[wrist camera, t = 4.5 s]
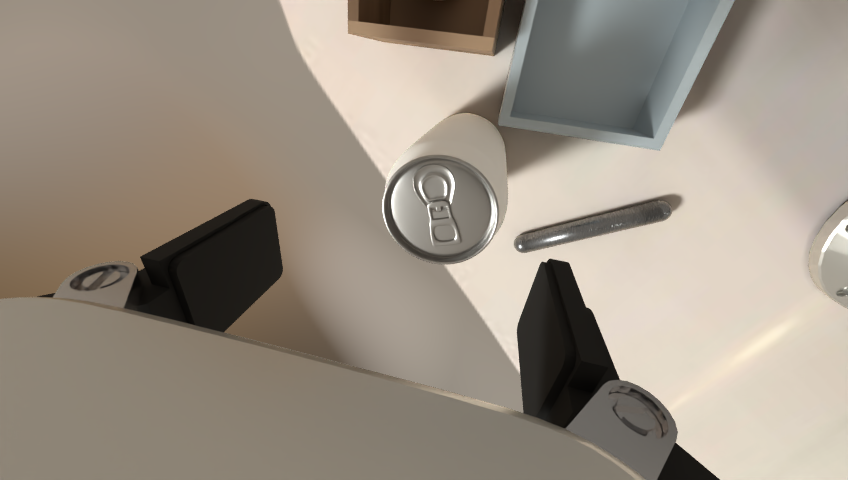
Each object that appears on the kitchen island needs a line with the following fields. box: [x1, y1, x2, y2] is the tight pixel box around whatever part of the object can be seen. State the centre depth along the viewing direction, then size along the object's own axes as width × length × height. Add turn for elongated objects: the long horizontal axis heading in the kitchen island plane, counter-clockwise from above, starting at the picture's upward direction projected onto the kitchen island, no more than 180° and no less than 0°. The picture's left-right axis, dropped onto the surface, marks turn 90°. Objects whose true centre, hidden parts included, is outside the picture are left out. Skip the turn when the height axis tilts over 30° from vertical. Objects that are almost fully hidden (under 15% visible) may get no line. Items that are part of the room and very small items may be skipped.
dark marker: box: [514, 200, 672, 253], centre depth 25 cm, size 12×2×2 cm, turn 113°
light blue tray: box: [498, 0, 735, 151], centre depth 18 cm, size 10×10×4 cm
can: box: [382, 113, 508, 264], centre depth 20 cm, size 6×6×12 cm
